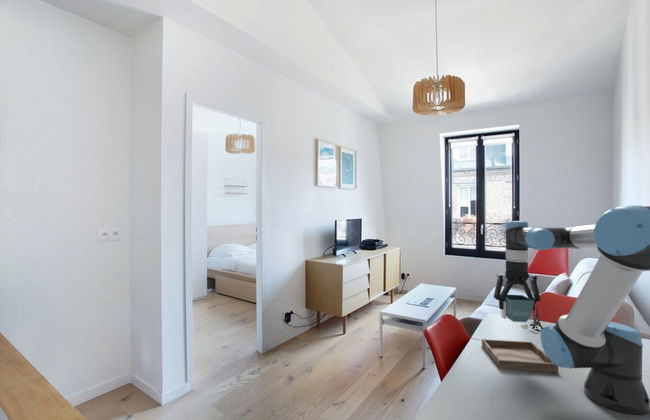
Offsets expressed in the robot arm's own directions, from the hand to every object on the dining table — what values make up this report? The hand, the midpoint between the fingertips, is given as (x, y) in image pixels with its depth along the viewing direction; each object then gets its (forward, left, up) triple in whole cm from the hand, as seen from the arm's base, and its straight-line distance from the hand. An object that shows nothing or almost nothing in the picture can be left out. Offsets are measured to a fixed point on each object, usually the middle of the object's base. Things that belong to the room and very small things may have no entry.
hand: (516, 318), depth 127 cm
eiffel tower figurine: (+36, -23, -16) cm, 46 cm away
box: (0, 0, -16) cm, 16 cm away
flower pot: (0, 0, -1) cm, 1 cm away
